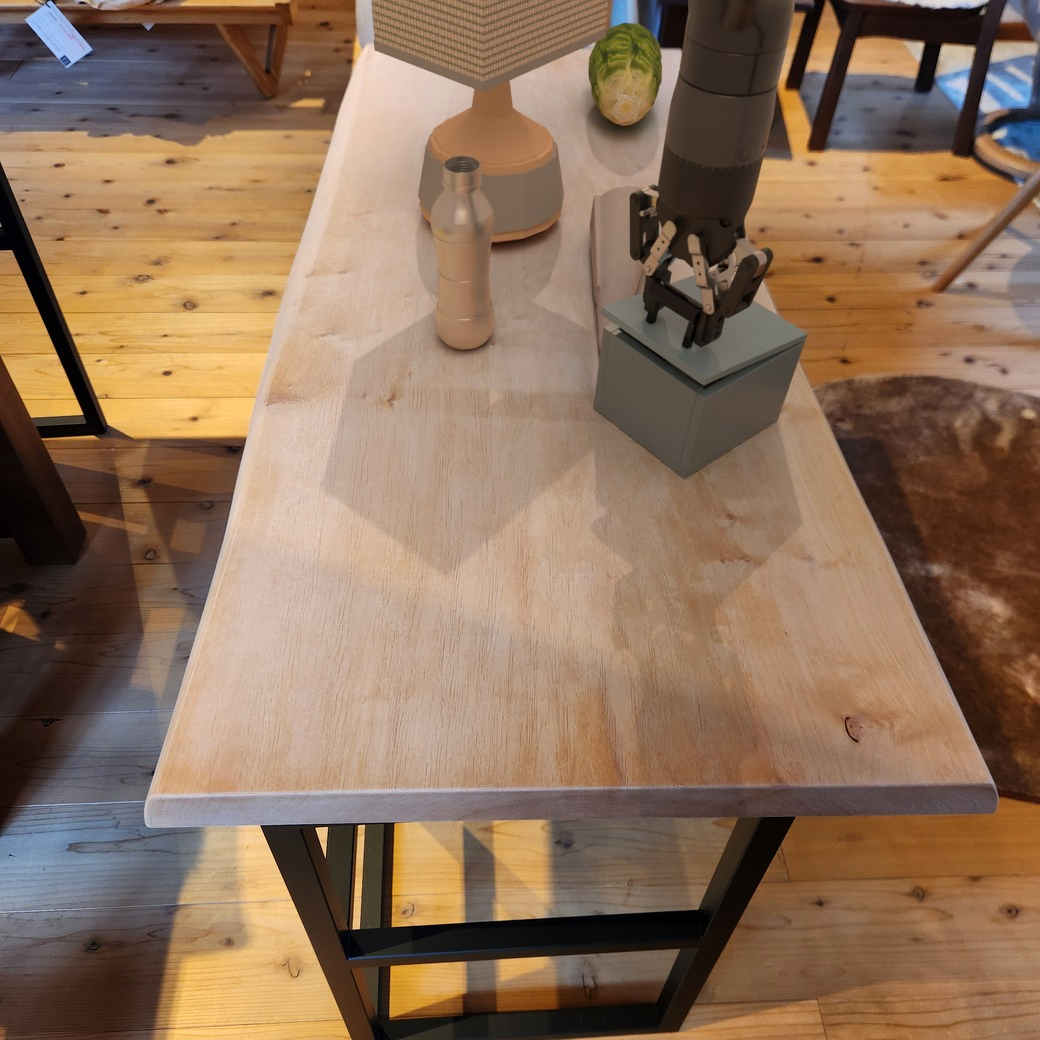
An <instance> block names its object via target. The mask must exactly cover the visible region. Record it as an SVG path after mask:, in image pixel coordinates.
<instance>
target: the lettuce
mask: <svg viewBox="0 0 1040 1040" xmlns="http://www.w3.org/2000/svg"><path fill="white" fill-rule="evenodd" d="M662 58H663V56H662V52H661V47H660V42H659V41H658V39H657V38H656V37H655V35H654V33H653V32H652V31H651V30H650V29H648V28H647V27H645V26H643V25H642V24H639V23H635V22H623V23H620V24H616V25H614V26H611V27H609V28H608V29H607V30H606V38H604V39H602V40H600V41H597V42H595V43H594V46H593V48H592V50H591V52H590V55H589V57H588V71H587V72H588V81H589V84H590V91H591V97H592V99H593V101H594V103H595V104H596V105H595V106H596V107H597V109H598V111H599V113H600V114H601V115H603V116H604V117H605V118H606V119H607V120H609V121H610V122H612V123H614V124H615V125H618V126H623V127H624V126H631V125H634V124H635V123H638V122H639V121H640V120H642V119H643V118H645V116H646V115H647V114H648V113H649V112H650V111H651V110H652V108H653V106H655V102H656V100H657V97H658V94H659V91H660V87H661V84H662V80H663V64H662V63H663V62H662Z"/></svg>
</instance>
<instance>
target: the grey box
mask: <svg viewBox="0 0 1040 1040" xmlns="http://www.w3.org/2000/svg"><path fill="white" fill-rule="evenodd" d="M805 343H806V340H805V341H803V342H801V343H798V344H796V345H794V346H792V347H789V348H787V349H785V350H783V351H780V352H778V353H776V354H774V355H771V356H769V357H767V358H765V359H762V360H760V361H758V362H756V363H753V364H751V365H749V366H747V367H744V368H742V369H740V370H737V371H735V372H733V373H731V374H728V375H726V376H724V377H722V378H719V379H718V381H717V382H716V383H715V384H713V385H711V386H709V387H708V388H706V389H704V388H702V387H701V386H699V385H698V384H696V383H695V382H694V381H692V380H691V379H689V378H688V377H686V376H685V375H683V374H682V373H681V372H679V371H678V370H676V369H675V368H673V367H672V366H671V365H669V364H668V363H666V361H667V360H666V359H665V358H663V357H662V356H660V355H659V354H657V353H656V352H655V351H653V350H652V349H650V348H649V347H647V346H646V345H644V344H643V343H642V342H640V341H639V340H637V339H636V338H634V337H633V336H631V335H630V334H629V333H627V332H626V331H624V330H623V329H621V328H620V327H619V326H617V325H616V324H614V323H612V324H610V325H608V326H606V327H604V328H603V336H602V344H601V352H600V351H599V360H598V369H597V376H596V383H595V392H594V398H593V406H592V407H593V409H594V410H595V411H597V412H598V414H600V415H602V416H603V417H604V418H605V419H606V420H608V421H609V422H610V423H612V424H613V425H614V426H616V427H617V428H618V429H620V430H621V431H622V432H623V433H625V434H626V435H627V436H629V437H630V438H631V439H632V440H634V441H635V442H636V443H638V444H639V445H640V446H641V447H643V448H644V449H645V450H646V451H648V452H649V453H650V454H652V456H654V457H656V458H657V459H658V460H659V461H661V462H662V463H663V464H664V465H666V466H667V467H668V468H669V469H671V470H672V471H673V472H675V473H676V474H677V475H678V476H679V477H681V478H683V480H686V479H688V478H689V477H690V476H692V475H695V473H697V472H699V471H700V470H702V469H703V468H705V467H707V466H708V465H710V464H711V463H713V462H714V461H716V460H717V459H719V458H721V457H722V456H724V455H725V454H726V453H728V452H730V451H732V450H733V449H735V448H736V447H738V446H740V445H742V444H743V443H745V442H746V441H747V440H749V439H751V438H752V437H754V436H756V435H757V434H759V433H760V432H762V431H763V430H765V429H767V428H768V427H770V426H772V425H773V424H775V423H776V422H778V420H779V418H780V415H781V413H782V410H783V406H784V403H785V400H786V398H787V396H788V392H789V389H790V386H791V384H792V380H793V378H794V375H795V372H796V369H797V367H798V363H799V361H800V357H801V355H802V352H803V349H804V346H805Z"/></svg>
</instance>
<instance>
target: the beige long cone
mask: <svg viewBox="0 0 1040 1040" xmlns="http://www.w3.org/2000/svg"><path fill="white" fill-rule="evenodd" d="M642 188H643V187H640V186H634V185H623V186H618V187H614V188H611V189H609V190H606V192H604V193H602V194H601V195H594V196H593V197H592V198H593V199H592V205H591V213H590V219H589V232H590V233H589V237H590V253H591V265H592V266H591V267H592V268H591V269H592V270H591V271H592V284H593V285H592V286H593V299H594V303H596V317H597V318H596V319H597V330H598V335H597V337H598V338H597V341H598V342H597V344H598V350H599V353H600V352H601V344H602V336H603V328H604V327H606V326H608V325H610V324H612V323H613V322H611V321H610V320H608V319H607V318H606V317H604V316H603V315H601V314H600V312H601V307H602V306H605V305H608V304H611V303H614V302H616V301H619V300H622V299H625V298H628V297H631V296H634V295H637V294H636V293H637V290H638V287H639V283H640V280H641V277H642V274H643V272H644V270H643V264H642V263H641V261H640V260H637V261H635V260H633V259H632V258H631V256H630V195H631V194H632V193H634V192H636V191H638V190H640V189H642ZM644 242H646V232H645V233H644V235H643V243H644Z"/></svg>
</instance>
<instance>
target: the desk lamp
mask: <svg viewBox="0 0 1040 1040" xmlns="http://www.w3.org/2000/svg"><path fill="white" fill-rule="evenodd" d="M370 2H371V3H370V4H371V14H372V26H373V37H374V40H373V50H374V51H375V52H377V53H380V54H383V55H385V56H388V57H390V58H393V59H396V60H398V61H401V62H404V63H405V64H409V65H412V66H414V67H416V68H419V69H422V70H423V71H424V70H425V71H427V72H430V73H432V74H434V75H438V76H440V77H443V78H446V79H448V80H451V81H453V82H455V83H458V84H460V85H463V86H466V87H469V88H471V89H474V90H473V95H472V102H471V106H470V107H468V108H467V109H464V110H463V111H461V112H459V113H458V114H456V115H454V116H452V117H450V118H447V119H446V120H444V121H442V122H441V123H440V124H438V125H437V126H435V127H433V130H432V132H431V134H429V137H428V139H427V142H426V144H425V149H424V155H423V160H422V161H423V162H422V167H421V174H420V179H419V186H418V192H417V197H418V199H419V207H420V209H421V212H422V214H423V216H424V219H425V220H427V221H428V222H430V215H431V211H432V207H433V205H434V203H435V201H436V200H437V198H438V197H439V195H440V194H441V193H442V191H443V190H444V189H445V188H444V187H443V185H442V177H443V163H444V162H445V161H446V160H447V159H449V158H451V157H455V156H470V157H473V158H476V159H477V160H479V161H480V163H481V176H482V185H481V187H480V189H481V190H482V192H483V193H484V194H485V195H486V197H487V199H488V200H489V202H490V203H491V205H492V208H493V211H494V215H495V223H494V230H493V237H492V243H505V242H512V241H517V240H523V239H525V238H528V237H531V236H533V235H536V234H538V233H541V232H543V231H547V230H548V229H549V228H550V227H551V226H552V225H554V223H555V222H557V220H558V219H559V218H561V216H562V215H561V214H562V209H563V204H564V203H563V202H564V197H565V191H564V185H563V177H562V169H561V162H560V155H559V148H558V144H557V143H556V141H555V139H554V136H552V134H551V132H550V131H549V129H548V128H547V127H546V126H544V125H542V124H540V123H538V122H537V121H535V120H533V119H532V118H530V117H528V116H527V115H526V114H523V113H522V112H521V111H519V110H517V109H516V108H514V105H513V103H514V102H513V96H512V88H511V87H512V86H511V80H514V79H516V78H518V77H521V76H523V75H525V74H527V73H529V72H532V71H535V70H536V69H538V68H541V67H544V66H546V65H548V64H550V63H552V62H555V61H557V60H559V59H562V58H564V57H566V56H568V55H570V54H572V53H574V52H577V51H579V50H582V49H584V48H586V47H588V46H590V45H593V44H596V42H597V41H600V40H602V39H604V38H606V31H607V30H608V29H607V18H608V9H609V0H370Z"/></svg>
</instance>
